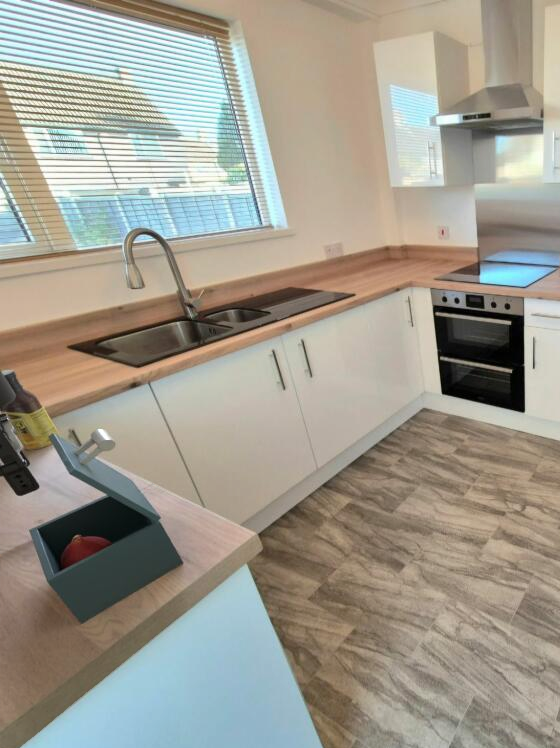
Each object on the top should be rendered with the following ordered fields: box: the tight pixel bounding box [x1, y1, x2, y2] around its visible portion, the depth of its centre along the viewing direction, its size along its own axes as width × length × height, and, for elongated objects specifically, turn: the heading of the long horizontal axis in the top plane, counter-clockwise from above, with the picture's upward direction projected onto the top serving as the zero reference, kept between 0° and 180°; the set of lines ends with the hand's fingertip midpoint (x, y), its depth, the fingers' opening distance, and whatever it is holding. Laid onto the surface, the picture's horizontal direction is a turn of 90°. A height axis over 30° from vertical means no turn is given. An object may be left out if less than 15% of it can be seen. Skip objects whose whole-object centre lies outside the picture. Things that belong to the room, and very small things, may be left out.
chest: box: [28, 494, 184, 625], centre depth 67 cm, size 13×16×9 cm
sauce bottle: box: [0, 369, 62, 451], centre depth 97 cm, size 7×6×20 cm
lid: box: [48, 428, 162, 522], centre depth 65 cm, size 14×16×5 cm
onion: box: [61, 535, 112, 570], centre depth 65 cm, size 6×6×8 cm
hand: (24, 479), depth 60 cm, fingers open, 8 cm apart
